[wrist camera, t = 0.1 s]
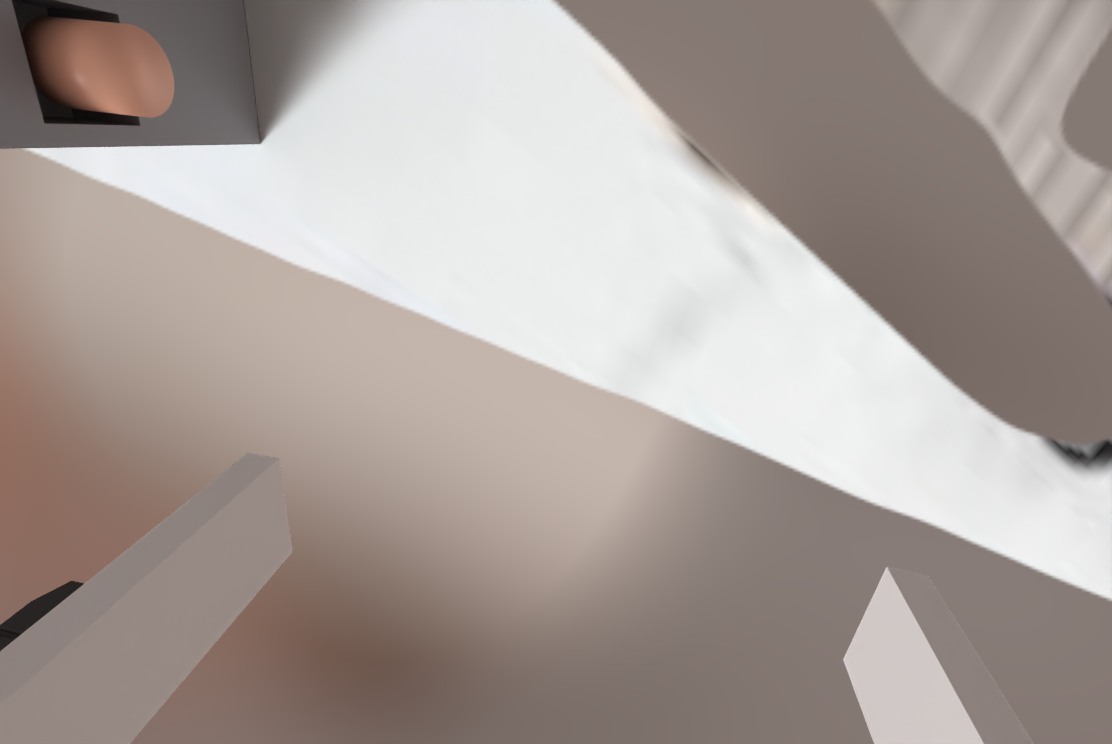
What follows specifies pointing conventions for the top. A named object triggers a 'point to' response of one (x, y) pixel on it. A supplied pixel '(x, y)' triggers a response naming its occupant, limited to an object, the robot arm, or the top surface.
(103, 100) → the terracotta button
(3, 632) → the robot arm
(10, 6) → the console
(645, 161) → the top surface
